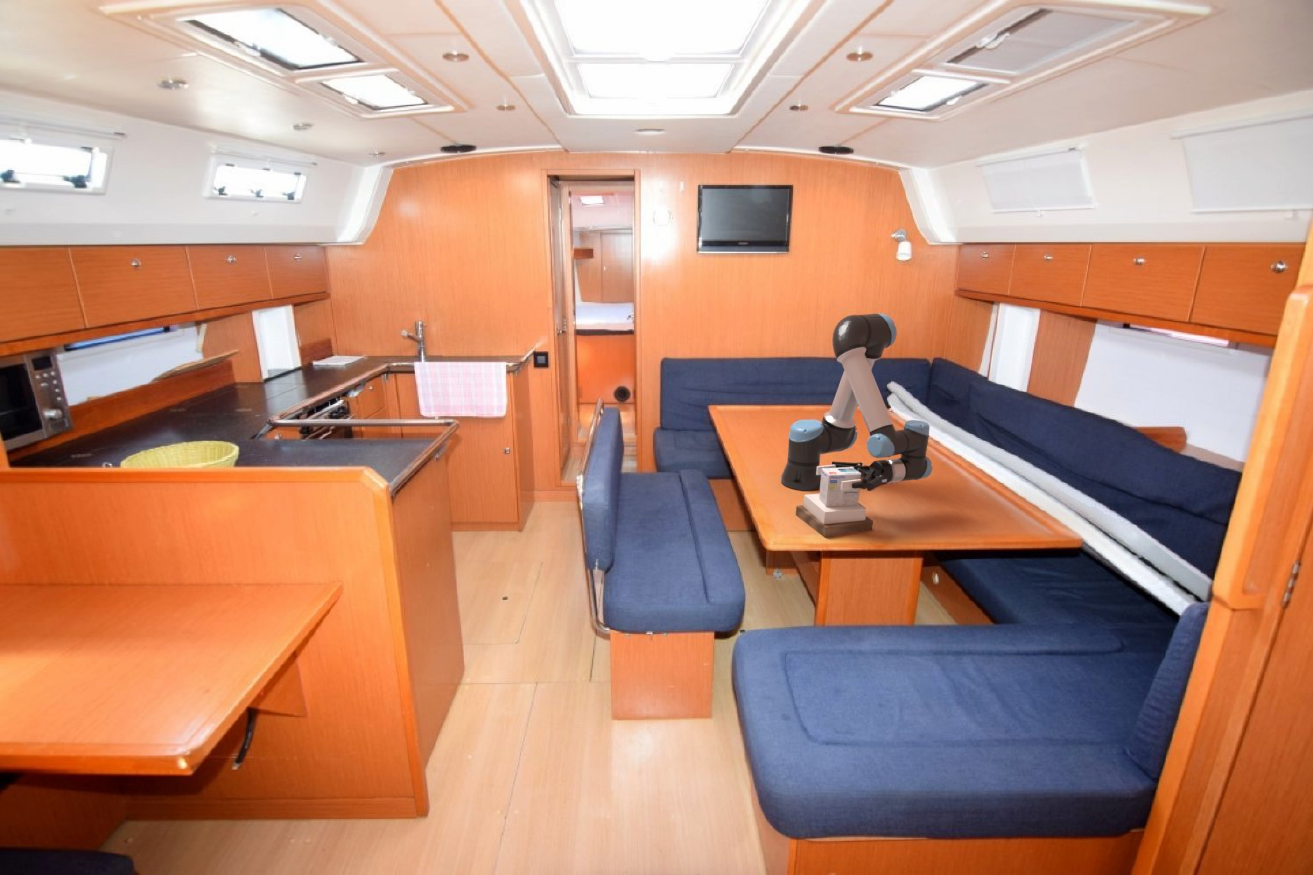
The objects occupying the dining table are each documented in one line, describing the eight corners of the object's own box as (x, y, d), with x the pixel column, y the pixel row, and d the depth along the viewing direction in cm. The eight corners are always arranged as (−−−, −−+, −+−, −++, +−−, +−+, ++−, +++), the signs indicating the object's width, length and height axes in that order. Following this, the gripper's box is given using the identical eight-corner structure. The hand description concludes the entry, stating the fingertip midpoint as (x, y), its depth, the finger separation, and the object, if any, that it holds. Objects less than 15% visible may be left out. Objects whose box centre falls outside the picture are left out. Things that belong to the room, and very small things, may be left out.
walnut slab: (795, 517, 202) (796, 505, 201) (840, 510, 207) (841, 500, 206) (824, 539, 187) (825, 527, 186) (871, 532, 192) (873, 520, 191)
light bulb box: (849, 497, 198) (853, 466, 194) (858, 506, 191) (862, 473, 188) (817, 499, 196) (820, 467, 193) (826, 507, 190) (829, 475, 187)
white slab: (803, 506, 201) (804, 494, 200) (842, 502, 204) (843, 491, 203) (823, 524, 188) (825, 512, 187) (865, 520, 191) (866, 508, 190)
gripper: (911, 496, 187) (851, 504, 181) (861, 469, 210) (806, 475, 204) (914, 473, 185) (854, 480, 179) (863, 448, 208) (808, 454, 201)
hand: (828, 478), depth 191 cm, fingers open, 13 cm apart
